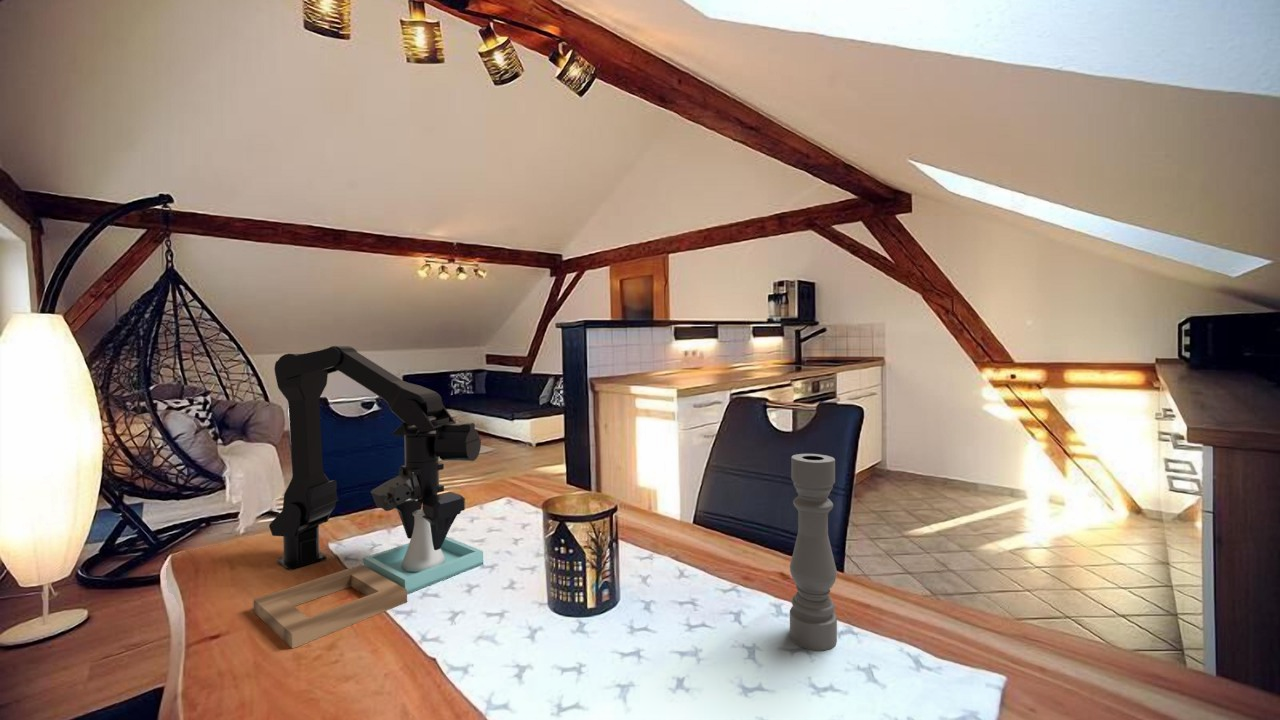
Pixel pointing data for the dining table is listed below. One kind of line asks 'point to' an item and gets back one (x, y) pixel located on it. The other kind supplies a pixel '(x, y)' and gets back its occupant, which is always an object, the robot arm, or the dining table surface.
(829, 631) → the candle holder
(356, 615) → the frame
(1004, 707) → the dining table surface
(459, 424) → the robot arm
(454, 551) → the teal tray
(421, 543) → the flask
